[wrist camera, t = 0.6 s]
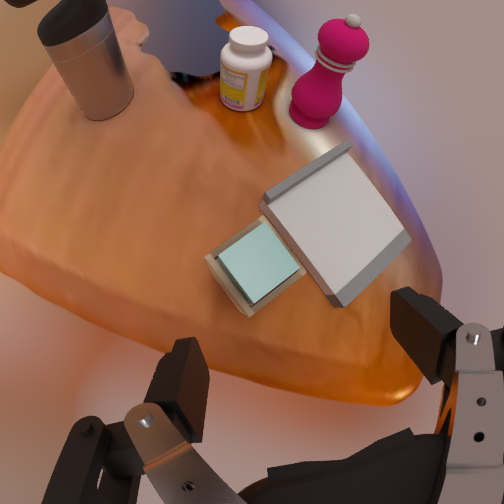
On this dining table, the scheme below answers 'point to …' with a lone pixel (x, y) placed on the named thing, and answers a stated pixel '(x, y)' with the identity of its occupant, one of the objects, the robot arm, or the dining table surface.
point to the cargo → (258, 262)
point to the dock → (336, 224)
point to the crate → (229, 284)
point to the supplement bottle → (245, 68)
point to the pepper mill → (328, 71)
